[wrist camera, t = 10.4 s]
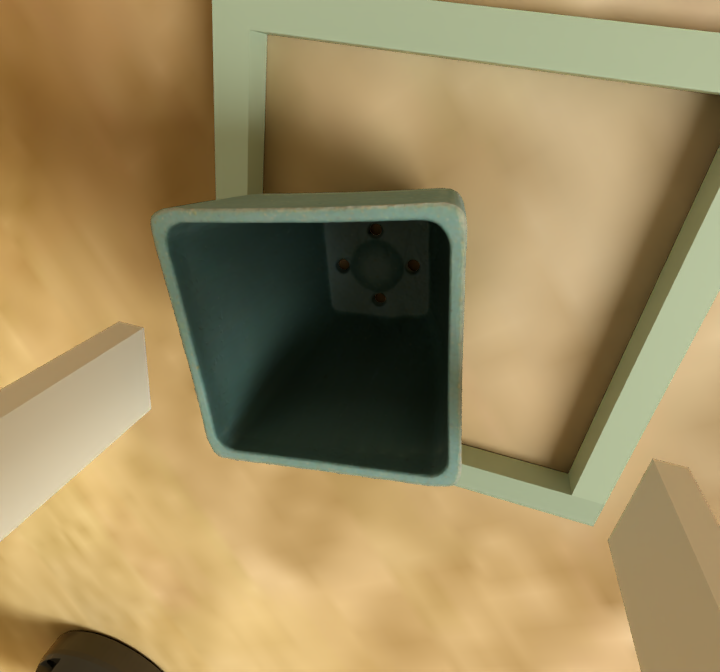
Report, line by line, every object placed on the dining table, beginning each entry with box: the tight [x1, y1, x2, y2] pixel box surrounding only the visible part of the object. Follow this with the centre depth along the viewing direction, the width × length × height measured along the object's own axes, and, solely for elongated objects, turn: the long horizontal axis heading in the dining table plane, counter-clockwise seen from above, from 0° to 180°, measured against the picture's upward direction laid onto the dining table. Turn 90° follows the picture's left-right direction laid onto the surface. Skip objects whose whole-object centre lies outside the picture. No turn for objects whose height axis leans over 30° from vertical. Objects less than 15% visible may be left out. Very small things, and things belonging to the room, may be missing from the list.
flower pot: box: [151, 188, 467, 486], centre depth 18 cm, size 9×9×9 cm
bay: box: [212, 0, 720, 526], centre depth 21 cm, size 20×20×2 cm
